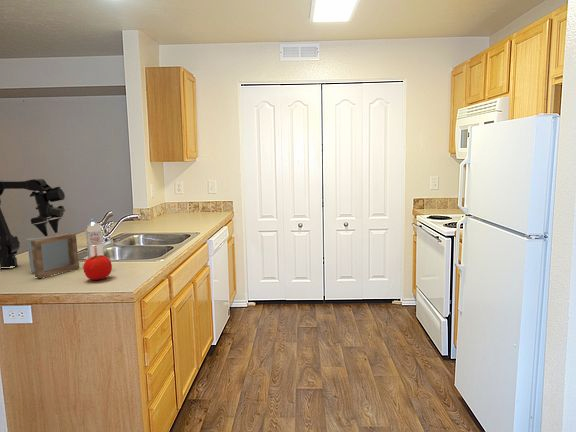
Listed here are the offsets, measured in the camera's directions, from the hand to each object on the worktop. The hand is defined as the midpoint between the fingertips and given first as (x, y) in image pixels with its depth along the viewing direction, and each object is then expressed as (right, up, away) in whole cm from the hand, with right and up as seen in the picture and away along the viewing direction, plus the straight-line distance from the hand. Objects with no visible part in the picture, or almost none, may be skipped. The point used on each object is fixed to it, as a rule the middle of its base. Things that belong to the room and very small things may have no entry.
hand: (51, 234), depth 224 cm
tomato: (+34, -19, -24) cm, 46 cm away
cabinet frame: (+9, -18, -11) cm, 23 cm away
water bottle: (+27, -17, -9) cm, 33 cm away
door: (+3, -17, -6) cm, 18 cm away
